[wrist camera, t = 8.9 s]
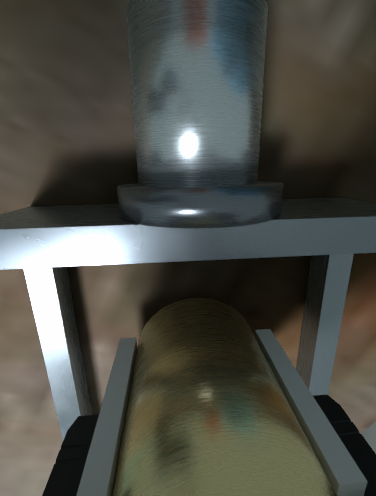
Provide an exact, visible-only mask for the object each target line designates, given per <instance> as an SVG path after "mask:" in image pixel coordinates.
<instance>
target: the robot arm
mask: <svg viewBox="0 0 376 496" xmlns="http://www.w3.org/2000/svg"><path fill="white" fill-rule="evenodd" d="M255 338H256V340H257V342H258V344H259V346H260V348H261V350H262V352H263V354H264V356H265V358H266V360H267V362H268V364H269V365H270V367H271V369H272V371H273V373H274V375H275V377H276V379H277V381H278V383H279V385H280V387H281V389H282V391H283V393H284V395H285V396H286V398H287V400H288V402H289V404H290V406H291V408H292V410H293V412H294V414H295V416H296V418H297V420H298V422H299V424H300V426H301V427H302V429H303V431H304V433H305V435H306V437H307V439H308V441H309V443H310V445H311V447H312V449H313V451H314V453H315V455H316V457H317V458H318V460H319V462H320V464H321V466H322V468H323V470H324V472H325V474H326V476H327V478H328V480H329V482H330V484H331V486H332V488H333V489H334V491H335V493H336V495H337V496H376V454H375V452H374V451H373V450H372V448H371V447H370V446H369V444H368V443H367V442H366V440H365V439H364V437H363V436H362V435H361V434H360V433H359V431H358V429H357V428H356V426H355V425H354V424H353V422H351V421H350V418H349V417H348V415H347V414H346V413H345V411H344V410H343V409H342V407H341V406H340V405H339V404H338V403H337V402H335V401H334V400H333V399H332V398H331V397H329V396H328V395H327V394H326V395H314V396H312V394H311V392H310V391H309V389H308V388H307V386H306V385H305V383H304V381H303V380H302V378H301V377H300V375H299V374H298V372H297V370H296V369H295V367H294V366H293V364H292V363H291V361H290V359H289V358H288V356H287V355H286V353H285V352H284V350H283V349H282V347H281V345H280V344H279V342H278V341H277V339H276V338H275V336H274V334H273V333H272V331H271V330H270V329H262V330H255ZM136 353H137V342H136V338H123V339H120V342H119V345H118V349H117V352H116V356H115V360H114V363H113V367H112V370H111V374H110V377H109V381H108V385H107V388H106V392H105V395H104V399H103V402H102V406H101V410H100V413H99V414H97V415H85V416H78V417H77V419H76V420H75V421H74V422H73V424H72V425H71V426H70V428H69V429H68V430H67V433H66V435H65V438H64V441H63V443H62V446H61V450H60V451H59V454H58V456H57V459H56V463H55V464H54V467H53V469H52V472H51V474H50V477H49V480H48V482H47V485H46V487H45V490H44V493H43V495H42V496H112V494H113V488H114V482H115V476H116V470H117V464H118V458H119V453H120V447H121V441H122V435H123V429H124V423H125V417H126V411H127V406H128V400H129V394H130V388H131V382H132V376H133V370H134V364H135V359H136Z"/></svg>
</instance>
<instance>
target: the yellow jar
mask: <svg viewBox="0 0 376 496" xmlns="http://www.w3.org/2000/svg"><path fill="white" fill-rule="evenodd" d="M112 496H337V495H336V493H335V491H334V489H333V488H332V486H331V484H330V482H329V480H328V478H327V476H326V474H325V472H324V470H323V468H322V466H321V464H320V462H319V460H318V458H317V457H316V455H315V453H314V451H313V449H312V447H311V445H310V443H309V441H308V439H307V437H306V435H305V433H304V431H303V429H302V427H301V426H300V424H299V422H298V420H297V418H296V416H295V414H294V412H293V410H292V408H291V406H290V404H289V402H288V400H287V398H286V396H285V395H284V393H283V391H282V389H281V387H280V385H279V383H278V381H277V379H276V377H275V375H274V373H273V371H272V369H271V367H270V365H269V364H268V362H267V360H266V358H265V356H264V354H263V352H262V350H261V348H260V346H259V344H258V342H257V340H256V338H255V336H254V334H253V333H252V331H251V329H250V327H249V325H248V323H247V321H246V320H245V318H244V317H243V316H242V315H241V314H240V313H239V312H238V311H237V310H236V309H234V308H233V307H231V306H230V305H228V304H226V303H223V302H221V301H218V300H214V299H208V298H190V299H184V300H180V301H177V302H174V303H172V304H170V305H168V306H166V307H164V308H163V309H161V310H160V311H158V312H157V313H156V314H155V315H153V316H152V317H151V319H150V320H149V321H148V322H147V323H146V325H145V326H144V328H143V330H142V332H141V334H140V338H139V341H138V347H137V353H136V359H135V364H134V370H133V376H132V382H131V388H130V394H129V400H128V406H127V411H126V417H125V423H124V429H123V435H122V441H121V447H120V453H119V458H118V464H117V470H116V476H115V482H114V488H113V494H112Z"/></svg>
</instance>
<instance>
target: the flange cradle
mask: <svg viewBox="0 0 376 496" xmlns="http://www.w3.org/2000/svg"><path fill="white" fill-rule="evenodd" d="M267 14H268V6H267V2H266V0H131V1H130V3H129V5H128V7H127V10H126V24H127V37H128V50H129V63H130V76H131V89H132V103H133V116H134V129H135V142H136V155H137V169H138V182H139V183H134V184H125V185H120V186H117V194H118V204H103V205H69V206H36V207H27V208H23V209H19V210H15V211H12V212H8V213H4V214H0V269H23V268H24V273H25V277H26V281H27V286H28V290H29V294H30V299H31V303H32V308H33V312H34V316H35V321H36V325H37V329H38V334H39V338H40V342H41V347H42V351H43V355H44V360H45V364H46V369H47V373H48V377H49V382H50V386H51V390H52V395H53V399H54V403H55V408H56V412H57V416H58V421H59V425H60V430H61V434H62V438H63V441H64V438H65V435H66V433H67V430H68V429H69V428H70V426H71V425H72V424H73V422H74V421H75V420H76V419H77V417H78V416H85V415H93V414H92V408H91V403H90V397H89V391H88V385H87V380H86V374H85V368H84V362H83V357H82V351H81V345H80V340H79V334H78V328H77V322H76V317H75V311H74V305H73V299H72V294H71V288H70V282H69V277H68V271H67V266H89V265H111V264H134V263H156V262H178V261H200V260H222V259H245V258H267V257H289V256H311V262H310V269H309V277H308V284H307V292H306V299H305V307H304V315H303V322H302V330H301V337H300V345H299V352H298V360H297V368H296V370H297V372H298V374H299V375H300V377H301V378H302V380H303V381H304V383H305V385H306V386H307V388H308V389H309V391H310V392H311V394H312V396H314V395H326V394H327V395H328V391H329V386H330V380H331V375H332V369H333V364H334V359H335V353H336V348H337V342H338V337H339V332H340V326H341V321H342V315H343V310H344V304H345V299H346V294H347V288H348V283H349V277H350V272H351V267H352V261H353V256H354V254H356V253H376V203H373V202H367V201H361V200H355V199H348V198H342V197H340V198H306V199H282V194H283V183H280V182H272V181H258V165H259V148H260V132H261V115H262V98H263V81H264V65H265V48H266V31H267Z"/></svg>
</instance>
